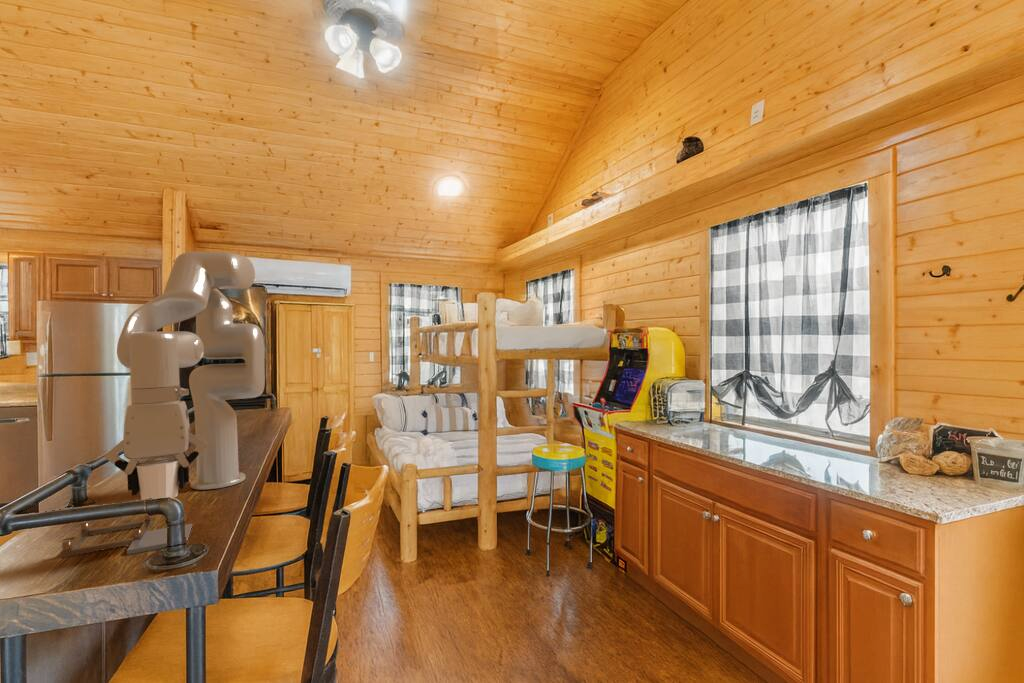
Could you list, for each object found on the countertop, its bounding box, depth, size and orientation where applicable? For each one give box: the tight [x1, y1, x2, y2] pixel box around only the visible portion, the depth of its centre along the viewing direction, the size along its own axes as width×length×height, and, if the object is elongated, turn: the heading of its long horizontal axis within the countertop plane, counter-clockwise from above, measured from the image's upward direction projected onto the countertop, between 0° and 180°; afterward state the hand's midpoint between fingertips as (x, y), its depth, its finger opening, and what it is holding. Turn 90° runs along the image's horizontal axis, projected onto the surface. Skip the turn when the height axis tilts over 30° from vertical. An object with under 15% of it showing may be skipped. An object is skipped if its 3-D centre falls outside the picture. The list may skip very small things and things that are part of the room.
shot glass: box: [136, 456, 180, 500], centre depth 93 cm, size 7×7×7 cm
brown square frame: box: [61, 515, 153, 558], centre depth 95 cm, size 11×11×2 cm
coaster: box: [126, 523, 194, 556], centre depth 94 cm, size 9×9×1 cm
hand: (159, 489), depth 93 cm, fingers closed on shot glass, 6 cm apart
